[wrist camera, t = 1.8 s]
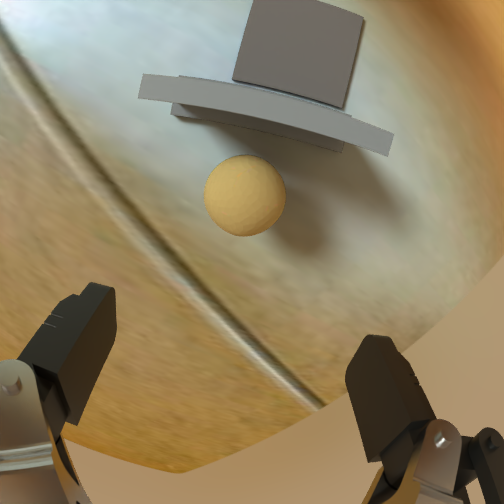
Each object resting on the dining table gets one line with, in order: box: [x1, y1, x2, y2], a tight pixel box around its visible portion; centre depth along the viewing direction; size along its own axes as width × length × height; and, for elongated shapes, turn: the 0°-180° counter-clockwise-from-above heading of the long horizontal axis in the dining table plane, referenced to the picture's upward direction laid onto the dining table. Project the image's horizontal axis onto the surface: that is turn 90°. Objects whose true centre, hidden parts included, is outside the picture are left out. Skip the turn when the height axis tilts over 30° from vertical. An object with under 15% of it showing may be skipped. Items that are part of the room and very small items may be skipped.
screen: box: [138, 74, 394, 157], centre depth 21 cm, size 4×17×12 cm, turn 77°
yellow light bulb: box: [204, 155, 286, 236], centre depth 25 cm, size 6×6×10 cm
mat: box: [232, 0, 363, 108], centre depth 24 cm, size 11×11×1 cm
